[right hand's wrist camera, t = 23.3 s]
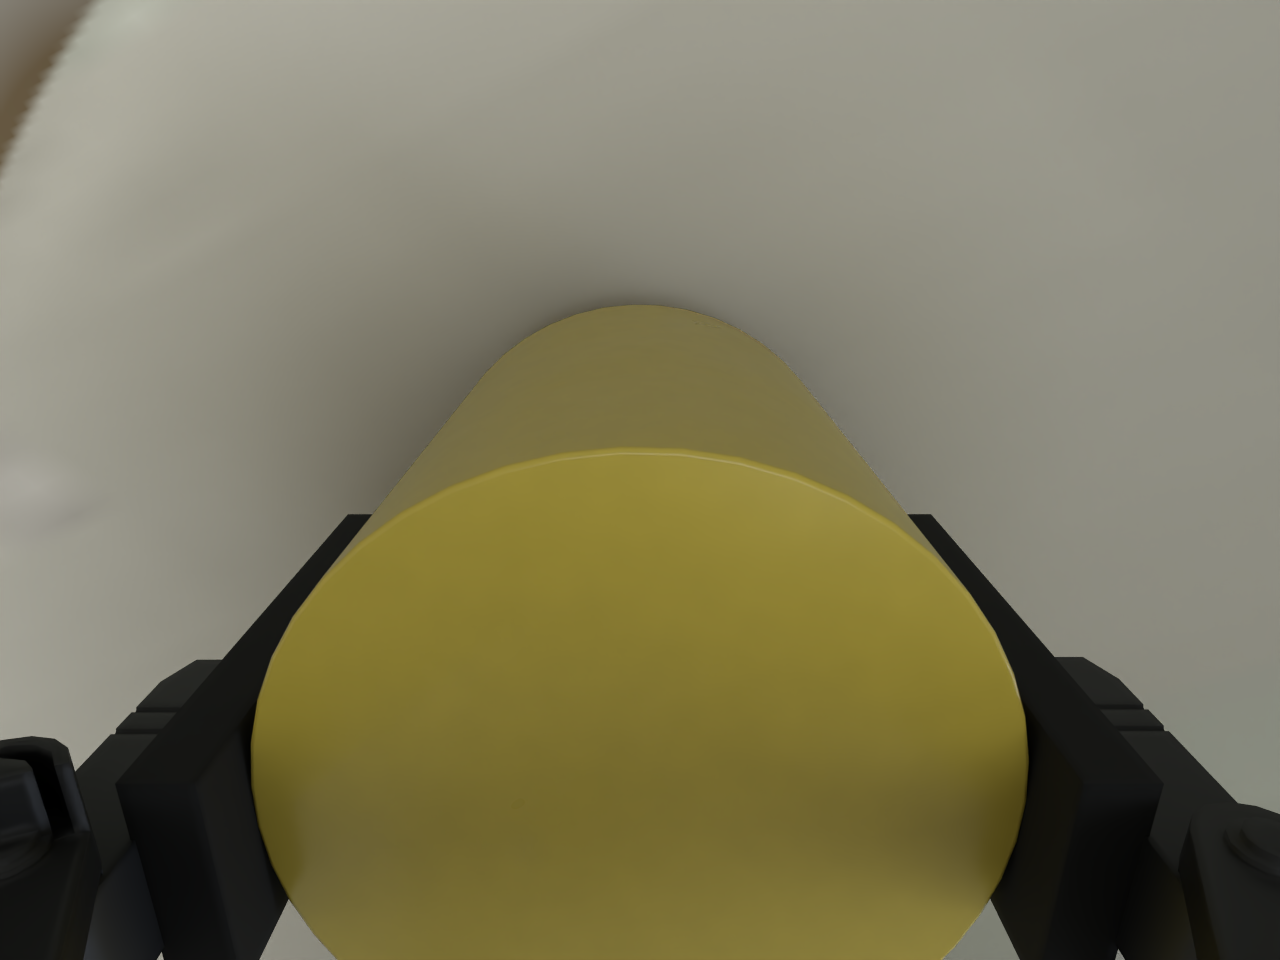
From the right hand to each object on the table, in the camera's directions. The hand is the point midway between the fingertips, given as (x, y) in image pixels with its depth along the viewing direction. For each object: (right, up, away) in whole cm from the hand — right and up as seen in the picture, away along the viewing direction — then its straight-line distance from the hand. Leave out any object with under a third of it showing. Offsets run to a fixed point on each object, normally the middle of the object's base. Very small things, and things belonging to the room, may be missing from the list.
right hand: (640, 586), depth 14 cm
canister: (0, +1, +3) cm, 3 cm away
